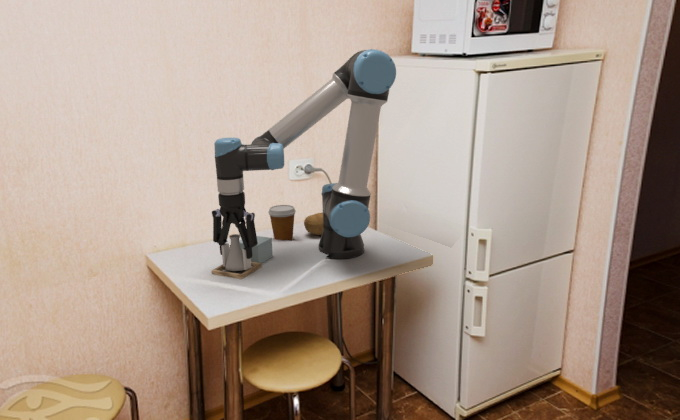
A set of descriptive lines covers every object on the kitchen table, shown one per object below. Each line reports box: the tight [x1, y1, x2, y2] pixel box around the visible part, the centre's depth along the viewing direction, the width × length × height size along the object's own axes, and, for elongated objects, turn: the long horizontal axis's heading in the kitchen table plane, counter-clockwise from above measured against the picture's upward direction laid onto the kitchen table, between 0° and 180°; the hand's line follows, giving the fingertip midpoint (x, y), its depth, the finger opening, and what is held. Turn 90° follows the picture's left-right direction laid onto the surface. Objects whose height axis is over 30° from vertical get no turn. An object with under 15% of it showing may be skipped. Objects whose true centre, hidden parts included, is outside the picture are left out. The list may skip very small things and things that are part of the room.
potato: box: [303, 212, 323, 236], centre depth 206 cm, size 10×14×8 cm
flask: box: [225, 233, 245, 272], centre depth 168 cm, size 7×7×10 cm
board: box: [211, 244, 263, 280], centre depth 175 cm, size 18×20×4 cm
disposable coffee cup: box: [267, 204, 296, 242], centre depth 199 cm, size 10×10×12 cm
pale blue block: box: [239, 235, 274, 264], centre depth 178 cm, size 8×8×6 cm
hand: (237, 266), depth 169 cm, fingers closed on flask, 7 cm apart
